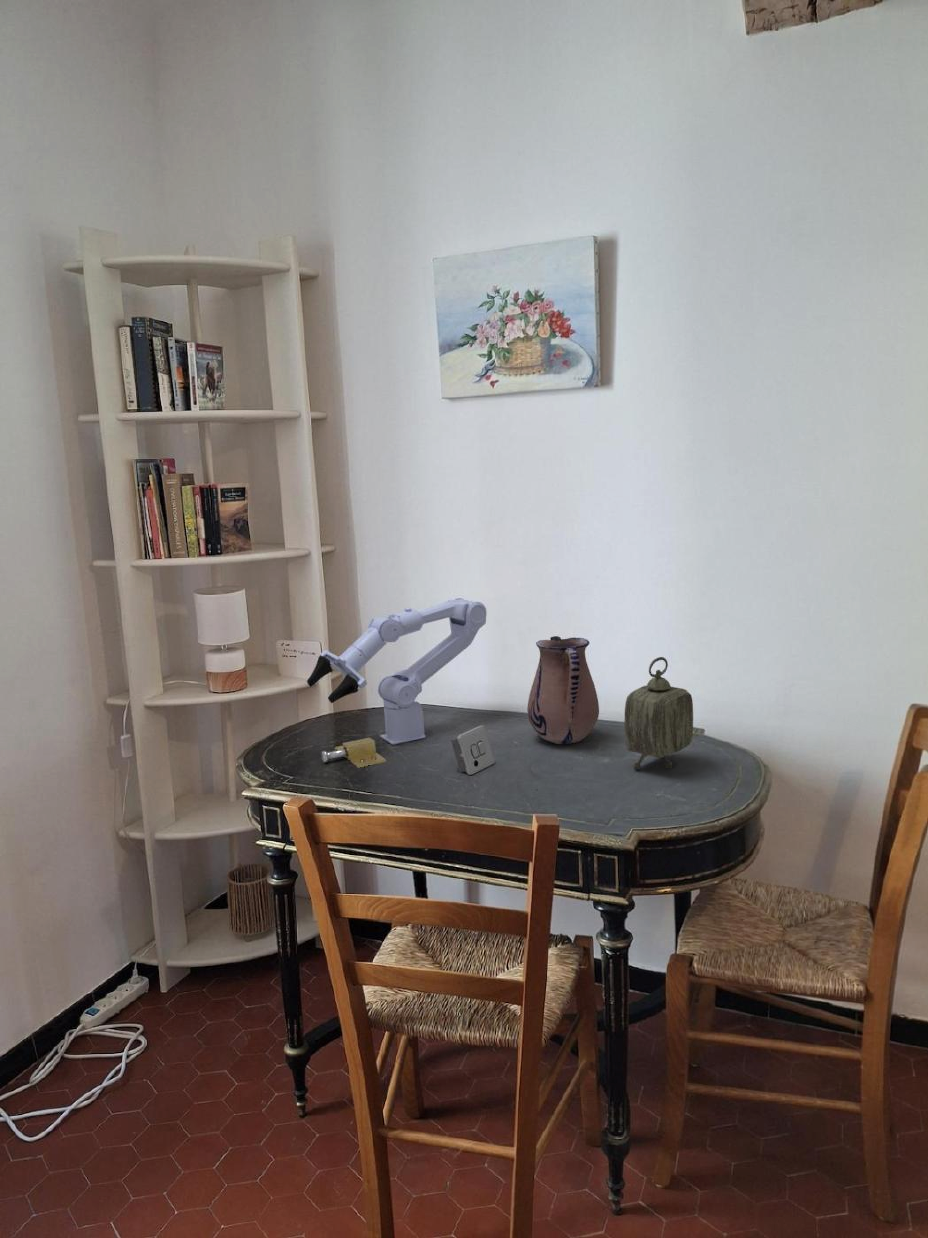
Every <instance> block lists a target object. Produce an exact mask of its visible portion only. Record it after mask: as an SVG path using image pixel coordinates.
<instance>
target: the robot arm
mask: <svg viewBox="0 0 928 1238" xmlns="http://www.w3.org/2000/svg"><path fill="white" fill-rule="evenodd" d="M444 619H448V620H449V626H450V634H449V635H448V636H447V637H446V638H445V639H442V641H440V642H439V643H438V644H436V646H434V647H433V648H432V649H430V650H429V651H428V652H427V653H425V654H424V655H423V656H421V657H420V658H419V659H418V660H416V661H415V663H413V664H412V665H411V666H409V667H408V668H405V669H403V670H399V671H396V672H395V673H393V674H392V675H389V676H388V675H387V676H385V677H383V678H382V679H381V680H380V681H379V683H378V687H377V693H378V695H379V697H380V698H381V699H382V701H383V711H384V727H385V734H380V738H381V739H383V740H385V741H386V742H387V743H389V744H391V745H397V744H403V743H407V742H412V741H416V740H421V739H425V738H426V734H425V724H424V723H425V722H424V712H423V708H422V705H421V704H420V702H418V701H416V699H417V697H418V695H420V693H422V691H423V684H424V683H425V682H427V681H428V680H429V679H431V678H432V677H433V676H434V675H435V674H436V673H437V672H439V671H440V670H441V669H442V668H444V667H445V666H446V665H448V663H450V662H451V661H452V660H453V659H455V658H456V657H457V656H459V655H460V654H461V653H462V652H464V650H466V649H468V647H469V646H471V644H472V643H473V641H474V640H475V637H476V635H477V633H478V632H479V631H480V629H481V628H482V627H483V626H485V625H486V623H487V608H486V606H485V604H484V603H483V602H481V601H473V600H468V599H467V600H466V599H464V598H461V597H459V598H458V597H457V598H455V599H448V600H447V601H444V602H442V603H440V604H437V605H434V606H431V607H429V608H426V609H423V610H420V611H418V609H415V608H411V607H406V608H404V610H403V611H401V612H397V613H395V614H394V613H389V614H388V616H387V617H383V616H379V617H376V618H373V619H371V620H370V621H369V624H368V626H367V627H368V628H367V629H366V631H364V633H363V634H361V635H360V636H359V638H356V639H357V640H356V641H354V642H353V643H351V645H350V646H349V647H348V648H346V650H345V651H344V652H343V653H341V654H340V655H339V656H338V655H336V654H334V653H332V652H330V651H328V649H324V650H323V651H322V652H321V653H320V655H319V656H318V658H317V661H316V664H315V667H314V668H313V671H312V673H311V675H310V676H309V677H308V679H307V680H306V682H307V685H308V686H309V687H310V688H311V687H314V685H316V684H317V683H318V682H319V681H320V679H322V678H323V677H325V676H326V675H328V674H330V673H331V672H333V671H334V669H333V668H335V669H336V670H337V671H339V672H340V673H341V674H342V675H344V676H345V677H344V678H343V680H342V681H341V682H340V684H339V685H338V686H337V687H336V688H335V689H334V690H333V691H332V692H331V693H330V694H329V695H328V697H327V699H328V702H329V703H330V704H333V703H335V702H336V701H338V700H340V699H342V698H344V697H346V696H348V695H352V694H355V693H357V692H359V688H360V689H361V690H363V689H364V688H365V687H366V686H367V684H368V682H367V680H366V679H365V678H364V677H363V676H362V675H360V673H358V671H360V670H361V669H362V668H364V666H365V665H366V664H367V663H369V662H370V660H371V659H372V658H374V656H375V655H376V654H378V652H380V651H381V650H382V648H384V646H386V645H387V643H395V642H397V641H398V640H399V638H400V637H403V636H406V635H408V634H412V633H416V632H418V631H421V630H422V628H423V625H424V624H429V623H433V622H437V621H441V620H444Z"/></svg>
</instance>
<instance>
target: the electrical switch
mask: <svg viewBox="0 0 928 1238" xmlns="http://www.w3.org/2000/svg"><path fill="white" fill-rule="evenodd" d="M450 741H451V745H452V749H453V751H454V755H455V760H456V762H457V766H458V769H459V772H460V773H467V774H468V776H470V775H474V774H476V773H478V772H479V771H482V770H484V769H486V768H488V767H491V765H494V764H495V757H494V754H493V750H492V746H491V743H490V739H489V736H488V733H487V730H486V726H484V725H479V726H476V727H474V728H472V729H470V730H467V731H466V732H464V733H463V732H462V733H461V734H458V735H457V737H454V738H452V739H451V740H450Z"/></svg>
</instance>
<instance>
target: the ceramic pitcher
mask: <svg viewBox="0 0 928 1238" xmlns="http://www.w3.org/2000/svg"><path fill="white" fill-rule="evenodd" d="M535 643H536V647H537V648H538V650H539V660H538V664H537V669H536V672H535V673H534V674H535V676H534V678H533V681H532V685H531V688H530V692H529V694H528V695H529V697H528V701H527V717H528V721H529V723H530V725H531V727H532V729H533V730H534V731H535V733H536V734H537V735H538V736H540V738H541V739H543V740H545V741H547V742H550V743H553V744H556V745H564V744H565V745H566V744H567V745H569V744H570V745H571V744H576V743H579V742H581V741H583V740H584V739H585V738H586V737H587V736H588V735H590V733H591V731H592V729H594V727H595V725H596V723H597V722H598V720H599V716H600V705H599V699H598V694H597V691H596V686H595V683H594V680H593V677H592V675H591V672H590V668H589V665H588V662H587V658H586V649H587V647H588V646H589V645H590V643H591V642H590V641H589V640H588V639H587V638H584V637H569V638H561V637H560V636H559V635H556V636H550V639H540V640H538V641H537V642H535Z"/></svg>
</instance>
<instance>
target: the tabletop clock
mask: <svg viewBox="0 0 928 1238" xmlns="http://www.w3.org/2000/svg"><path fill="white" fill-rule="evenodd" d="M659 661H663V662H664V663H665V667H664V669H662V670H660V669H656V670H655V674H653V673H652V668H653V666H654V664H655V663H656V662H659ZM668 666H669V664H668V659H666V658H665V657H664V656H659V657H656V658H654V659H653V660H652V661H651V662H650V664H649V667H648V673H649V675H650V677H652V678H650V679H649V681H648V682H647V684H646V685H643V686H641V687H639V688H637V689H634V690H633V691H631V692H630V693H629V694H628V695H627V697H626V700H625V706H624V720H623V721H624V722H623V723H624V739H625V745H626V748H627V749H626V750H627V751H630V752H633V753H637V754H641V756H640V757H639V760H638V762H634V764H633V766H632V767H633V769H634V770H635V771H638V770H640V769H641V763H642V762H643V760H644V759H645V758H646V757H648V756H650V757H654V758H657V759H662V758H665V762H664V766H665V768H666V769H671V768H672V767H673V763H672V762H671V760H669V756H671V755H672V754H676V753H678V752H680V751H682V750H684V749H685V748H687V747H688V746H689V745H690V744H691V743H692V741H693V735H694V706H693V705H694V702H693V696H692V695H691V693H690V692H689V691H688V690H687V689H685V688H680V687H674V686H671V683H670V682H669V681H668V679H666V678H665V677H663V675H664V674H665V673H666V672H667V670H668Z"/></svg>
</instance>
